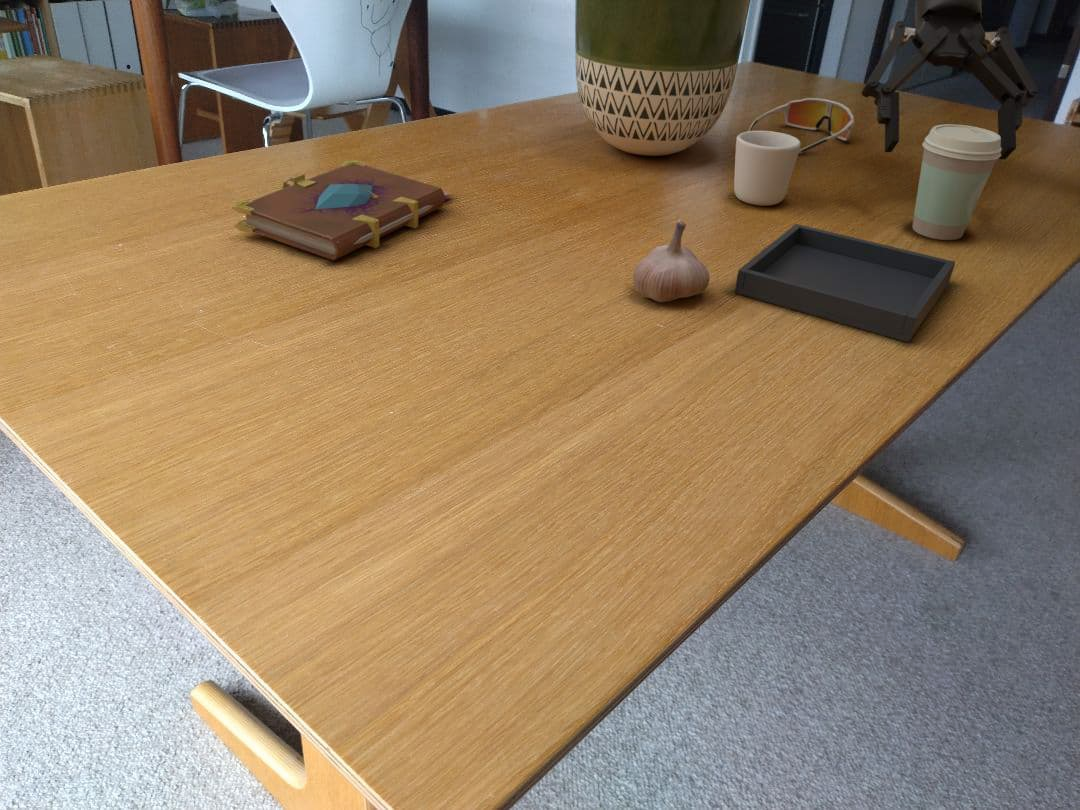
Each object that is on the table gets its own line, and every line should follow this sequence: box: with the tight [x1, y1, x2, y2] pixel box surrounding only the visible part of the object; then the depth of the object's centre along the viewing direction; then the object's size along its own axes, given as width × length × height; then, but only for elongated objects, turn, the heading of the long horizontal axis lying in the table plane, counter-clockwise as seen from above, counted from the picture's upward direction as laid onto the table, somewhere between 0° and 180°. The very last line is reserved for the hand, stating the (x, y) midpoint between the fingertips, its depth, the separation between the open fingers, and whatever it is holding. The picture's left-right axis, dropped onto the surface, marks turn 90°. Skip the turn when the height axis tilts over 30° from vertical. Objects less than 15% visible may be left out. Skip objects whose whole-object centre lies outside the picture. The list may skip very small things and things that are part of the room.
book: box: [231, 159, 453, 261], centre depth 104 cm, size 16×25×5 cm, turn 151°
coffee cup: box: [911, 123, 1002, 241], centre depth 104 cm, size 8×8×12 cm
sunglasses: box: [748, 97, 855, 154], centre depth 140 cm, size 14×15×5 cm
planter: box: [574, 0, 751, 157], centre depth 125 cm, size 24×24×27 cm
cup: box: [733, 130, 802, 207], centre depth 114 cm, size 11×8×8 cm
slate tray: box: [734, 223, 956, 343], centre depth 91 cm, size 18×17×3 cm
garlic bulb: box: [632, 219, 710, 303], centre depth 87 cm, size 8×7×8 cm
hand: (949, 150), depth 105 cm, fingers open, 13 cm apart
